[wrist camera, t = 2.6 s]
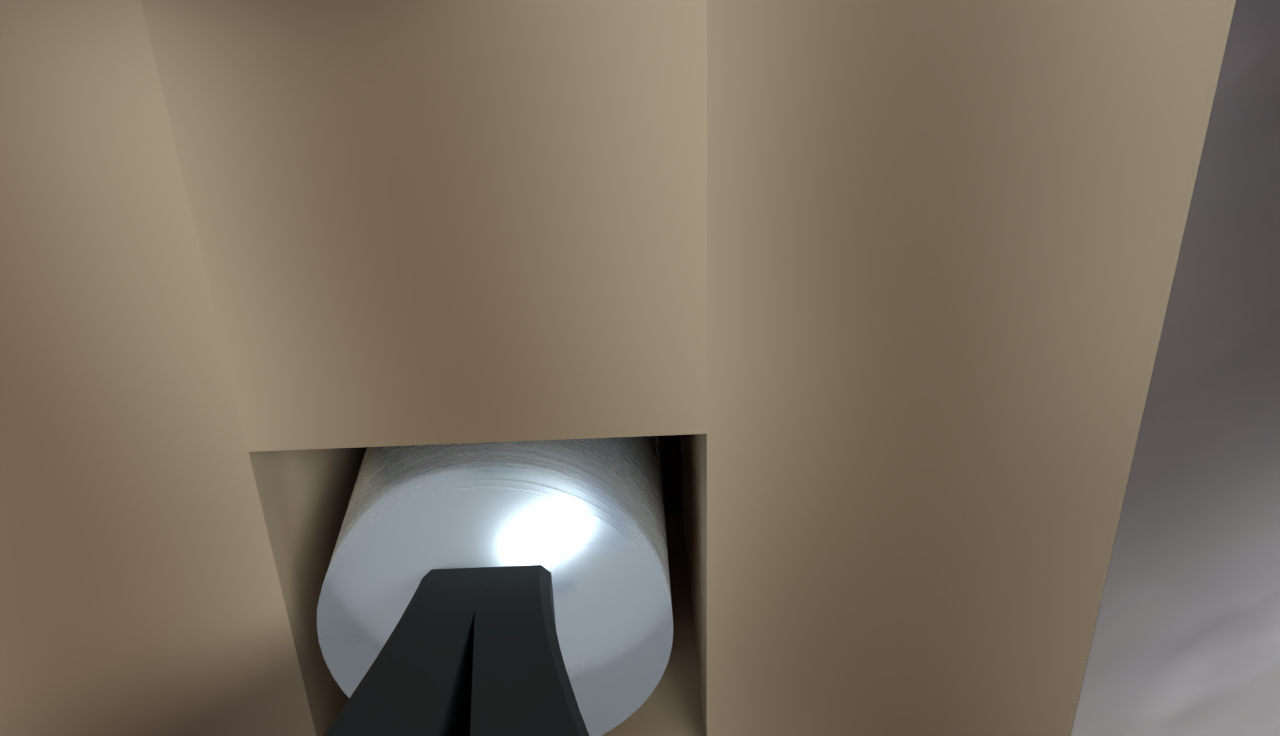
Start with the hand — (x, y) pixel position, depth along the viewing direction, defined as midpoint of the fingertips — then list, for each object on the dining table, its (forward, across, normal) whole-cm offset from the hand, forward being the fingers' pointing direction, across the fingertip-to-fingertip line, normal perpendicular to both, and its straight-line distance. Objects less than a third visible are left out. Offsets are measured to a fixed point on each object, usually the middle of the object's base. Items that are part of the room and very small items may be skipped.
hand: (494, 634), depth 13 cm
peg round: (+5, 0, 0) cm, 5 cm away
